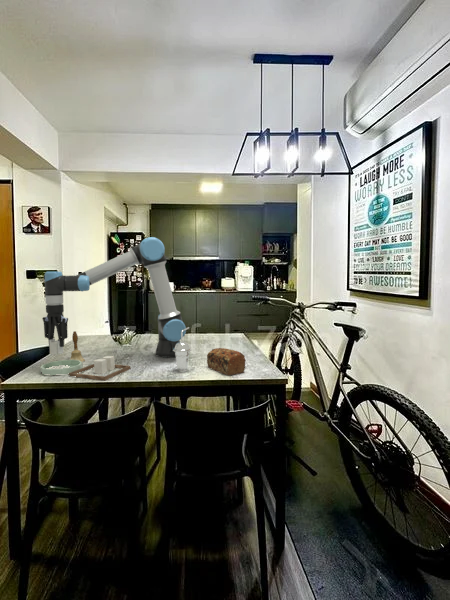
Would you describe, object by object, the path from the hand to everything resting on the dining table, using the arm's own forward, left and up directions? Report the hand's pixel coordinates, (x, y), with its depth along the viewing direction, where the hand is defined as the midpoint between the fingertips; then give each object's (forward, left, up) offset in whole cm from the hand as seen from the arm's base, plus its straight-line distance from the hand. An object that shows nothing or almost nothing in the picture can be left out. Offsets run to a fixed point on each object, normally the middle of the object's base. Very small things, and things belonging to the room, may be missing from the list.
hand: (56, 352), depth 170 cm
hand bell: (+3, -16, -9) cm, 19 cm away
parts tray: (-23, -3, -8) cm, 24 cm away
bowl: (-3, 0, -8) cm, 9 cm away
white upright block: (-23, -9, -8) cm, 26 cm away
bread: (-76, -25, -9) cm, 81 cm away
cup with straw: (-58, -18, -9) cm, 61 cm away
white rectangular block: (0, 0, 0) cm, 0 cm away
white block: (-23, -3, -8) cm, 24 cm away
